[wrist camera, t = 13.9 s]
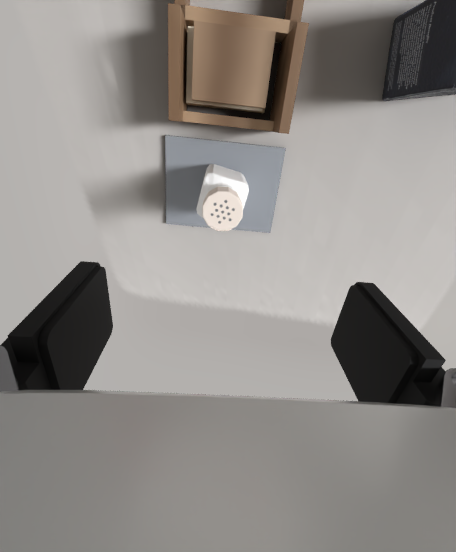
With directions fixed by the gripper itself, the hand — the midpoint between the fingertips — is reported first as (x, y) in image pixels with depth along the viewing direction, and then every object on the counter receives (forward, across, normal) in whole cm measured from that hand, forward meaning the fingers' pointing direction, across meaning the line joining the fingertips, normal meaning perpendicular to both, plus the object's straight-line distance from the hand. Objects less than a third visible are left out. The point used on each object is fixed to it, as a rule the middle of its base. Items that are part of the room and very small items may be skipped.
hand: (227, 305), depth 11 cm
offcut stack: (+22, 0, -10) cm, 24 cm away
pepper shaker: (+22, 0, 0) cm, 22 cm away
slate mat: (+22, 0, 0) cm, 22 cm away
